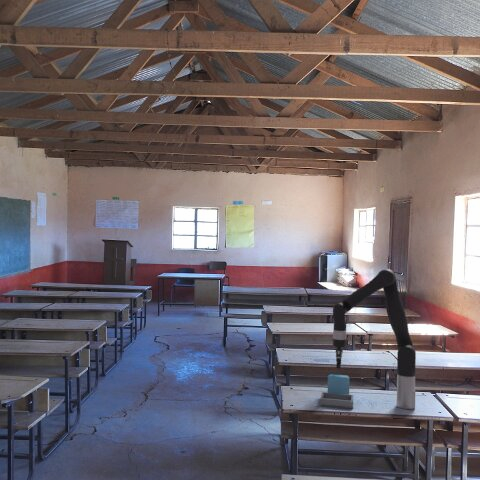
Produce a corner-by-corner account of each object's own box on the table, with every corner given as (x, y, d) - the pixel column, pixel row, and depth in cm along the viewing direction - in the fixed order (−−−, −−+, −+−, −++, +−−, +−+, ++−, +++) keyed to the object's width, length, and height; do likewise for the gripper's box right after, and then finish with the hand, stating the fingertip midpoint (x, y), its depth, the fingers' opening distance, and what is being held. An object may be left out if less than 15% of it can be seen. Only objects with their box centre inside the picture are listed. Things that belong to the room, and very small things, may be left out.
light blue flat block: (348, 396, 286) (349, 375, 286) (349, 399, 281) (349, 377, 281) (327, 395, 288) (327, 374, 288) (327, 397, 283) (327, 376, 283)
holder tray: (353, 402, 275) (353, 394, 275) (352, 409, 264) (353, 401, 264) (322, 399, 280) (322, 392, 280) (320, 405, 268) (320, 398, 268)
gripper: (345, 340, 276) (345, 370, 276) (346, 336, 290) (345, 364, 290) (332, 339, 278) (331, 368, 278) (333, 335, 292) (332, 362, 292)
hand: (338, 366), depth 284 cm, fingers open, 8 cm apart
